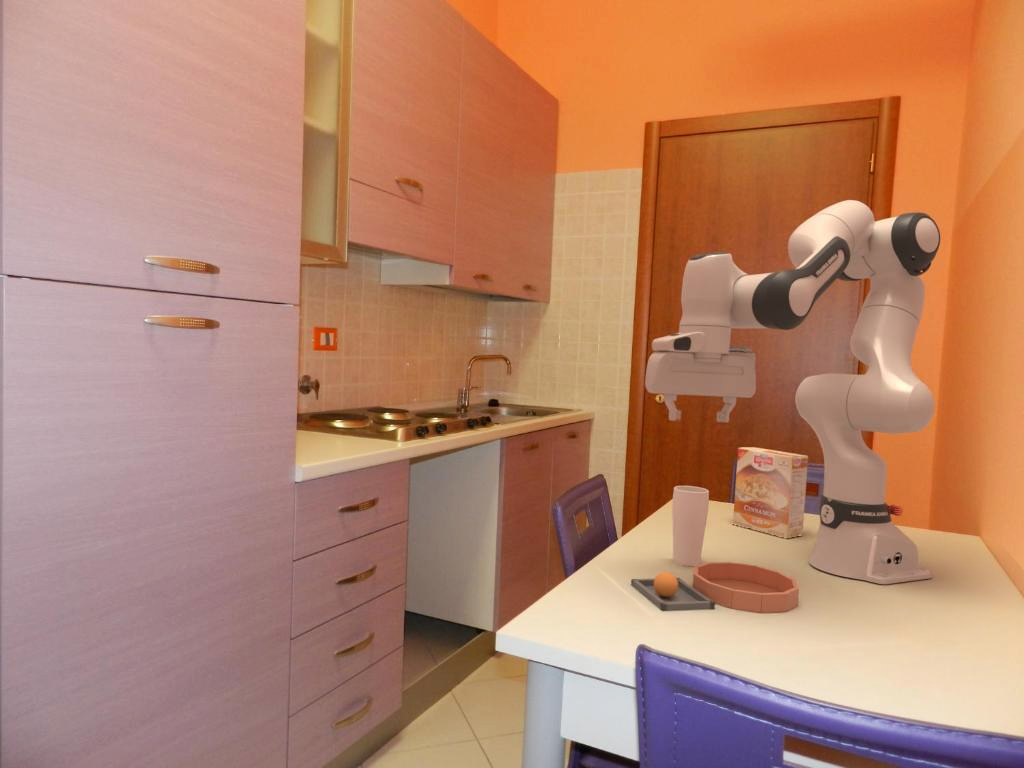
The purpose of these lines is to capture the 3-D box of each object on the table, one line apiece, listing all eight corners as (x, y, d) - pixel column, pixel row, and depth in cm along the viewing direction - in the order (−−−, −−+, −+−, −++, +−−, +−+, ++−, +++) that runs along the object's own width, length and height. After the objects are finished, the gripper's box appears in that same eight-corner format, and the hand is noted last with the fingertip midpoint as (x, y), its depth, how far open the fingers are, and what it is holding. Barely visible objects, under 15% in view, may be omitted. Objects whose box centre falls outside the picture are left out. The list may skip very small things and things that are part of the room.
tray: (678, 586, 119) (678, 577, 119) (714, 612, 107) (714, 602, 107) (630, 588, 117) (631, 579, 117) (662, 614, 105) (662, 604, 105)
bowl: (757, 579, 126) (758, 561, 125) (818, 614, 109) (820, 592, 109) (675, 582, 122) (676, 562, 121) (726, 618, 105) (727, 595, 105)
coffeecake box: (731, 525, 169) (736, 447, 168) (748, 522, 173) (753, 446, 173) (786, 539, 157) (792, 456, 156) (803, 536, 161) (809, 455, 161)
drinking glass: (705, 572, 129) (710, 493, 128) (669, 567, 130) (674, 490, 129) (702, 561, 135) (707, 487, 135) (668, 558, 137) (672, 484, 136)
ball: (675, 583, 114) (664, 564, 114) (686, 592, 111) (676, 571, 110) (656, 596, 114) (645, 577, 113) (667, 605, 110) (656, 585, 109)
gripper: (745, 347, 126) (740, 421, 126) (643, 340, 121) (639, 417, 121) (766, 346, 120) (760, 424, 120) (659, 339, 115) (654, 421, 115)
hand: (698, 421), depth 121 cm, fingers open, 8 cm apart
